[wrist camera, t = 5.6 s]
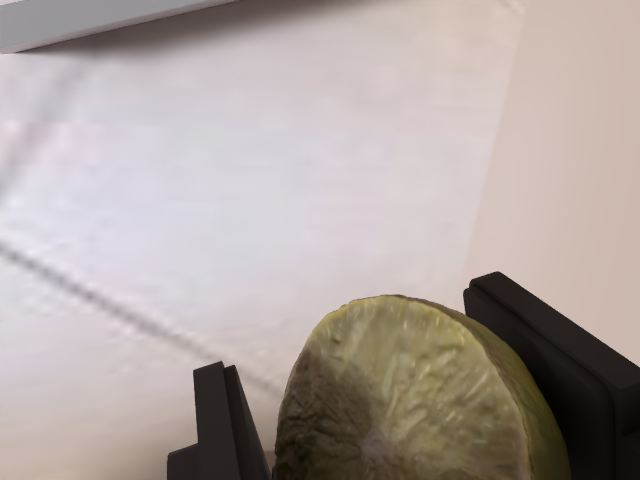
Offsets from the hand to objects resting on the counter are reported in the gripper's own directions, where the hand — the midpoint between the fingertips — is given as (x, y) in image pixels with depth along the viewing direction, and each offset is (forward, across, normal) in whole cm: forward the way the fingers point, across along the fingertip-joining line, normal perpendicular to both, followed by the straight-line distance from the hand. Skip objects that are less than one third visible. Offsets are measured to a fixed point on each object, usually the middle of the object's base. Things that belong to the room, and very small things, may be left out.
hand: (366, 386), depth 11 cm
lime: (+1, 0, 0) cm, 1 cm away
